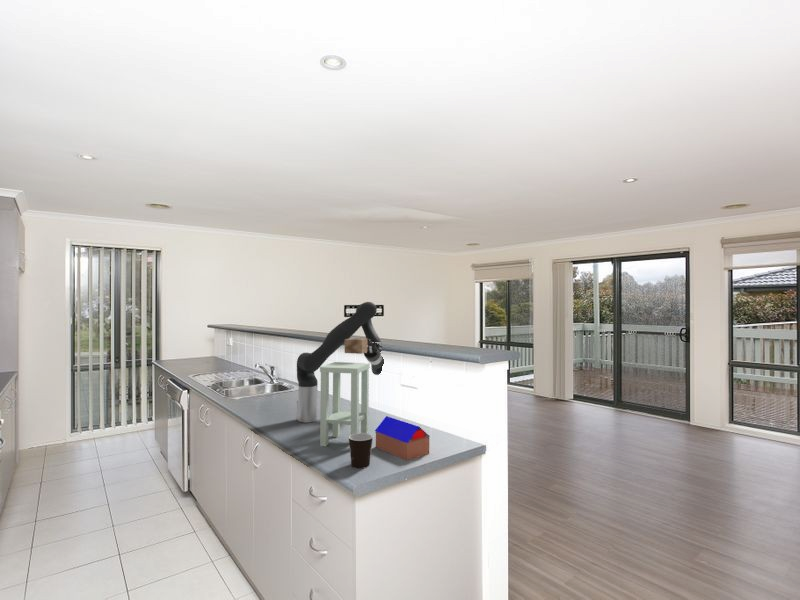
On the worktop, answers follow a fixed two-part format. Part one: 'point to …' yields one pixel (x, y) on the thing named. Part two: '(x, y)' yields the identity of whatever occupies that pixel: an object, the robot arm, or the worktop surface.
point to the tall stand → (337, 415)
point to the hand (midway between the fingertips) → (363, 340)
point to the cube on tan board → (356, 345)
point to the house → (402, 439)
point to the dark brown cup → (360, 449)
